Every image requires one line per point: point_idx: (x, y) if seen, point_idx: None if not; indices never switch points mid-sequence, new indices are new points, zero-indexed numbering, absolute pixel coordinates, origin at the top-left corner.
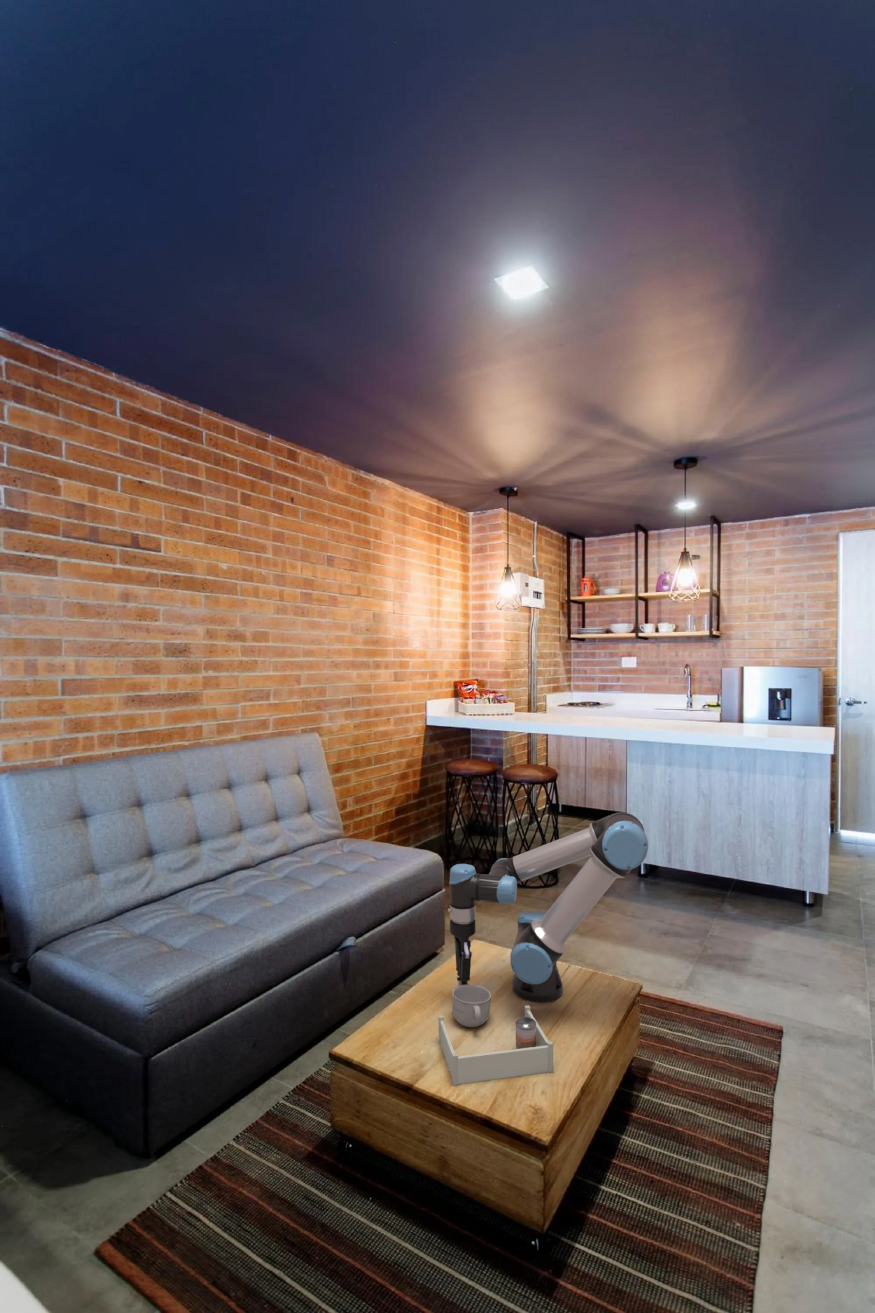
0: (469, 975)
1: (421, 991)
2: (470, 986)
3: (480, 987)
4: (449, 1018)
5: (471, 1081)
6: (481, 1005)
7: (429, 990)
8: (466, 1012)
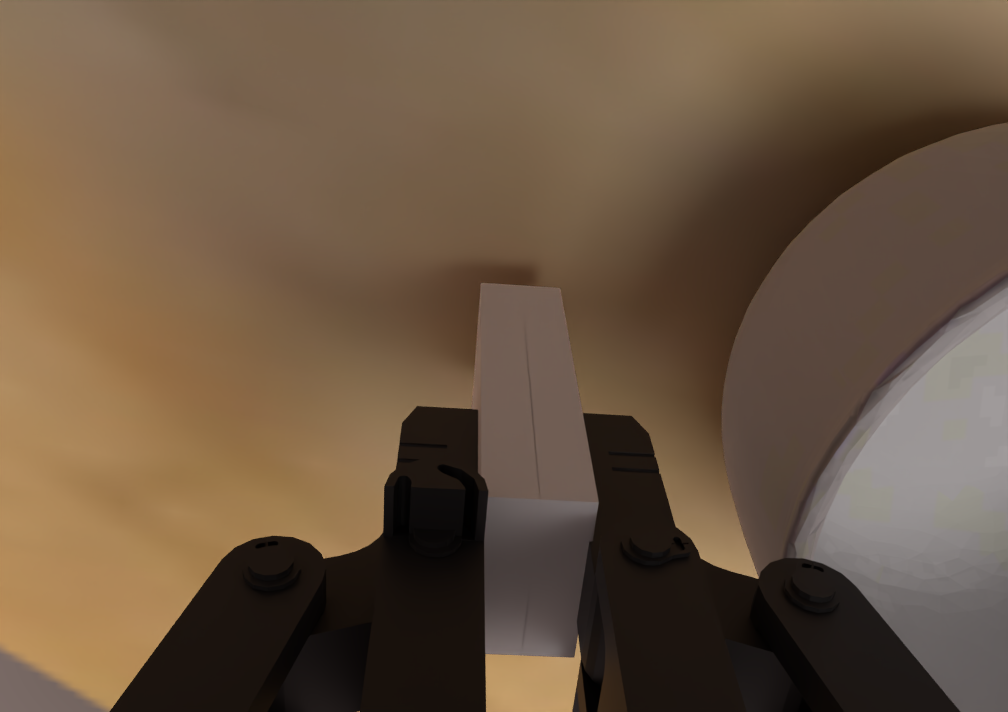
0: (929, 693)
1: (86, 675)
2: (837, 490)
3: (990, 319)
4: None
5: None
6: None
7: (67, 601)
8: None
